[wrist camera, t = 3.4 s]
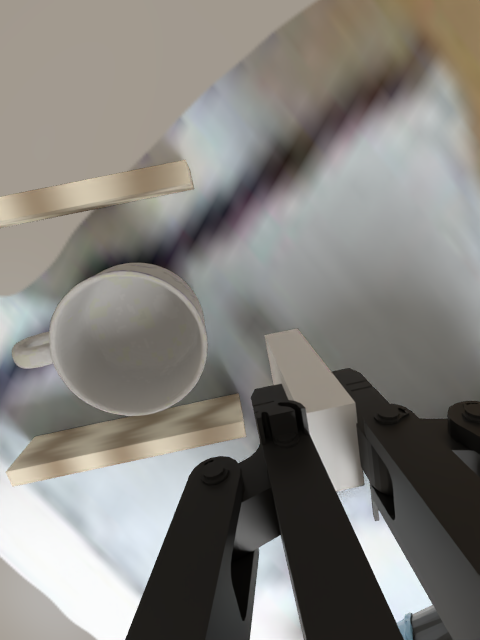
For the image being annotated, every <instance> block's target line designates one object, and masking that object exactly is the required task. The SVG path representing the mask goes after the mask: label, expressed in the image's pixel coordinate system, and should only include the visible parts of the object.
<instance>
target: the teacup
mask: <svg viewBox="0 0 480 640" xmlns="http://www.w3.org/2000/svg"><path fill="white" fill-rule="evenodd" d="M207 347H208V344H207V334H206V329H205V320H204V315H203V311H202V308H201V305H200V303H199V300H198V298H197V297H196V295H195V293H194V292H193V290H192V289H191V288H190V287H189V285H188V284H187V283H186V282H185V281H184V280H183V279H181V278H180V277H179V276H178V275H176V274H174V273H173V272H171V271H169V270H167V269H165V268H162V267H160V266H157V265H153V264H147V263H126V264H121V265H117V266H114V267H111V268H108V269H106V270H104V271H102V272H100V273H98V274H96V275H94V276H92V277H90V278H88V279H86V280H84V281H82V282H80V283H78V284H77V285H75V286H74V287H73V288H72V289H71V290H70V291H69V292H68V293H67V294H66V295H65V296H64V297H63V298H62V299H61V301H60V302H59V304H58V305H57V307H56V309H55V311H54V313H53V315H52V319H51V323H50V329H49V332H46V333H42V334H38V335H34V336H31V337H28V338H26V339H23V340H21V341H20V342H18V343H16V344H15V345H14V347H13V348H12V357H13V359H14V362H15V363H16V365H18V366H19V367H21V368H27V369H28V368H37V367H42V366H46V365H49V364H52V363H53V364H54V366H55V369H56V370H57V372H58V374H59V376H60V377H61V379H62V380H63V381H64V383H65V384H66V386H67V387H68V388H69V389H70V390H71V391H72V392H73V393H74V394H75V395H76V396H77V397H78V398H80V399H81V400H83V401H84V402H86V403H87V404H89V405H91V406H93V407H95V408H97V409H100V410H102V411H105V412H109V413H113V414H118V415H125V416H141V415H148V414H153V413H156V412H159V411H162V410H165V409H167V408H169V407H171V406H172V405H174V404H176V403H177V402H179V401H180V400H182V399H183V398H184V397H185V396H186V395H187V394H188V393H189V392H190V391H191V390H192V389H193V388H194V386H195V385H196V384H197V382H198V380H199V378H200V377H201V374H202V372H203V370H204V366H205V362H206V359H207Z"/></svg>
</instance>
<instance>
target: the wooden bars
mask: <svg viewBox="0 0 480 640" xmlns="http://www.w3.org/2000/svg"><path fill="white" fill-rule="evenodd" d="M192 189H194V186H193V182H192V177H191V172H190V169H189V167H188V164H187V162H186V160H182V161H177V162H172V163H167V164H162V165H157V166H152V167H147V168H142V169H137V170H132V171H127V172H122V173H117V174H112V175H107V176H102V177H96V178H91V179H87V180H82V181H76V182H72V183H66V184H61V185H56V186H52V187H46V188H42V189H37V190H32V191H26V192H22V193H16V194H12V195H7V196H1V197H0V228H3V227H8V226H13V225H18V224H23V223H28V222H33V221H38V220H43V219H48V218H53V217H58V216H63V215H68V214H73V213H78V212H83V211H88V210H93V209H98V208H103V207H108V206H113V205H118V204H123V203H128V202H133V201H138V200H143V199H148V198H153V197H158V196H163V195H168V194H173V193H177V192H182V191H187V190H192ZM242 437H246V433H245V426H244V420H243V413H242V407H241V402H240V398H239V393H238V394H233V395H228V396H224V397H219V398H214V399H210V400H205V401H200V402H195V403H191V404H186V405H181V406H177V407H172V408H167V409H165V410H162V411H159V412H156V413H153V414H148V415H141V416H129V417H125V418H120V419H115V420H111V421H106V422H101V423H97V424H92V425H87V426H82V427H78V428H73V429H68V430H64V431H59V432H54V433H49V434H45V435H40V436H35V437H34V438H33V439H32V441H31V442H30V443H29V444H28V446H27V447H26V448H25V449H24V450H23V452H22V453H21V454H20V455H19V457H18V458H17V459H16V460H15V461H14V463H13V464H12V465H11V466H10V467H9V469H8V470H7V471H6V474H7V476H8V478H9V480H10V482H11V485H12V487H14V486H18V485H23V484H28V483H32V482H37V481H42V480H46V479H51V478H56V477H60V476H65V475H69V474H74V473H79V472H83V471H88V470H93V469H97V468H102V467H107V466H111V465H116V464H121V463H125V462H130V461H135V460H139V459H144V458H149V457H153V456H158V455H163V454H167V453H172V452H177V451H181V450H186V449H191V448H195V447H200V446H205V445H209V444H214V443H219V442H223V441H228V440H233V439H237V438H242Z"/></svg>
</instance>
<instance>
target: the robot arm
mask: <svg viewBox="0 0 480 640" xmlns="http://www.w3.org/2000/svg"><path fill="white" fill-rule="evenodd" d="M264 336H265V341H266V347H267V352H268V357H269V363H270V368H271V374H272V379H273V386H268V387H263V388H259V389H255V390H254V392H253V394H252V396H251V400H252V405H253V410H254V414H255V419H256V424H257V429H258V434H259V438H260V445H259V448H258V449H257V451H256V452H255V453H254V454H253V455H252V456H251V457H249V458H247V459H246V460H244V461H242V462H240V463H237V461H236V460H234V459H232V458H230V457H223V456H219V457H213V458H210V459H207V460H205V461H203V462H201V463H200V464H199V465H198V466H196V467H195V468H194V469H193V471H192V472H191V474H190V476H189V478H188V481H187V483H186V486H185V488H184V491H183V494H182V496H181V499H180V501H179V504H178V506H177V509H176V511H175V514H174V517H173V519H172V522H171V524H170V527H169V529H168V532H167V534H166V537H165V539H164V542H163V545H162V547H161V550H160V552H159V555H158V557H157V560H156V562H155V565H154V568H153V570H152V573H151V575H150V578H149V580H148V583H147V585H146V588H145V591H144V593H143V596H142V598H141V601H140V603H139V606H138V608H137V611H136V613H135V616H134V619H133V621H132V624H131V626H130V629H129V631H128V634H127V636H126V639H125V640H250V632H251V622H252V613H253V604H254V595H255V586H256V577H257V568H258V559H259V547H260V546H262V545H264V544H266V543H267V542H269V541H271V540H272V539H274V538H276V537H278V536H279V535H281V539H282V543H283V548H284V552H285V557H286V561H287V566H288V570H289V574H290V579H291V583H292V588H293V592H294V597H295V601H296V606H297V610H298V615H299V619H300V624H301V628H302V633H303V637H304V640H480V402H477V401H464V402H460V403H456V404H454V405H452V406H451V407H449V410H448V419H419V418H418V417H417V416H416V415H415V414H414V413H413V412H412V411H410V410H409V409H407V408H406V407H403V406H400V405H396V404H389V403H388V402H387V401H386V400H385V398H384V397H383V396H382V395H381V394H380V393H379V392H378V391H377V390H376V389H375V388H374V387H372V385H371V384H370V383H369V382H368V381H367V380H366V379H365V378H364V377H363V375H362V374H361V373H359V372H357V371H354V370H352V369H350V368H347V369H342V370H338V371H333V372H331V371H330V369H329V368H328V367H327V366H326V364H325V363H324V362H323V360H322V359H321V358H320V357H319V355H318V354H317V353H316V351H315V350H314V349H313V348H312V346H311V345H310V344H309V342H308V341H307V340H306V339H305V337H304V336H303V335H302V333H301V332H300V331H299V330H298V328H296V329H292V330H287V331H282V332H277V333H273V334H268V335H264ZM363 471H364V472H365V474H366V476H367V477H368V479H369V481H370V489H371V499H372V508H373V515H374V519H375V521H378V520H379V514H378V510H379V511H380V513H381V514H382V516H383V518H384V520H385V521H386V523H387V525H388V527H389V528H390V530H391V532H392V534H393V535H394V537H395V539H396V541H397V542H398V544H399V546H400V548H401V549H402V551H403V553H404V555H405V556H406V558H407V560H408V562H409V564H410V565H411V567H412V569H413V571H414V572H415V574H416V576H417V578H418V579H419V581H420V583H421V585H422V586H423V588H424V590H425V592H426V593H427V595H428V597H429V599H430V600H431V602H432V604H433V605H432V606H430V607H427V608H425V609H423V610H421V611H419V612H417V613H415V614H413V615H412V613H408V614H406V615H405V618H404V619H403V620H401V621H399V622H398V623H396V621H395V619H394V617H393V615H392V612H391V610H390V608H389V606H388V604H387V602H386V599H385V597H384V595H383V593H382V591H381V588H380V586H379V584H378V582H377V580H376V578H375V575H374V573H373V571H372V569H371V567H370V565H369V562H368V560H367V558H366V556H365V554H364V551H363V549H362V547H361V545H360V543H359V541H358V538H357V536H356V534H355V532H354V530H353V528H352V525H351V523H350V521H349V519H348V517H347V515H346V512H345V510H344V508H343V506H342V504H341V501H340V499H339V497H338V495H337V493H336V491H341V490H345V489H350V488H354V487H359V486H363V485H364V476H363Z"/></svg>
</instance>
